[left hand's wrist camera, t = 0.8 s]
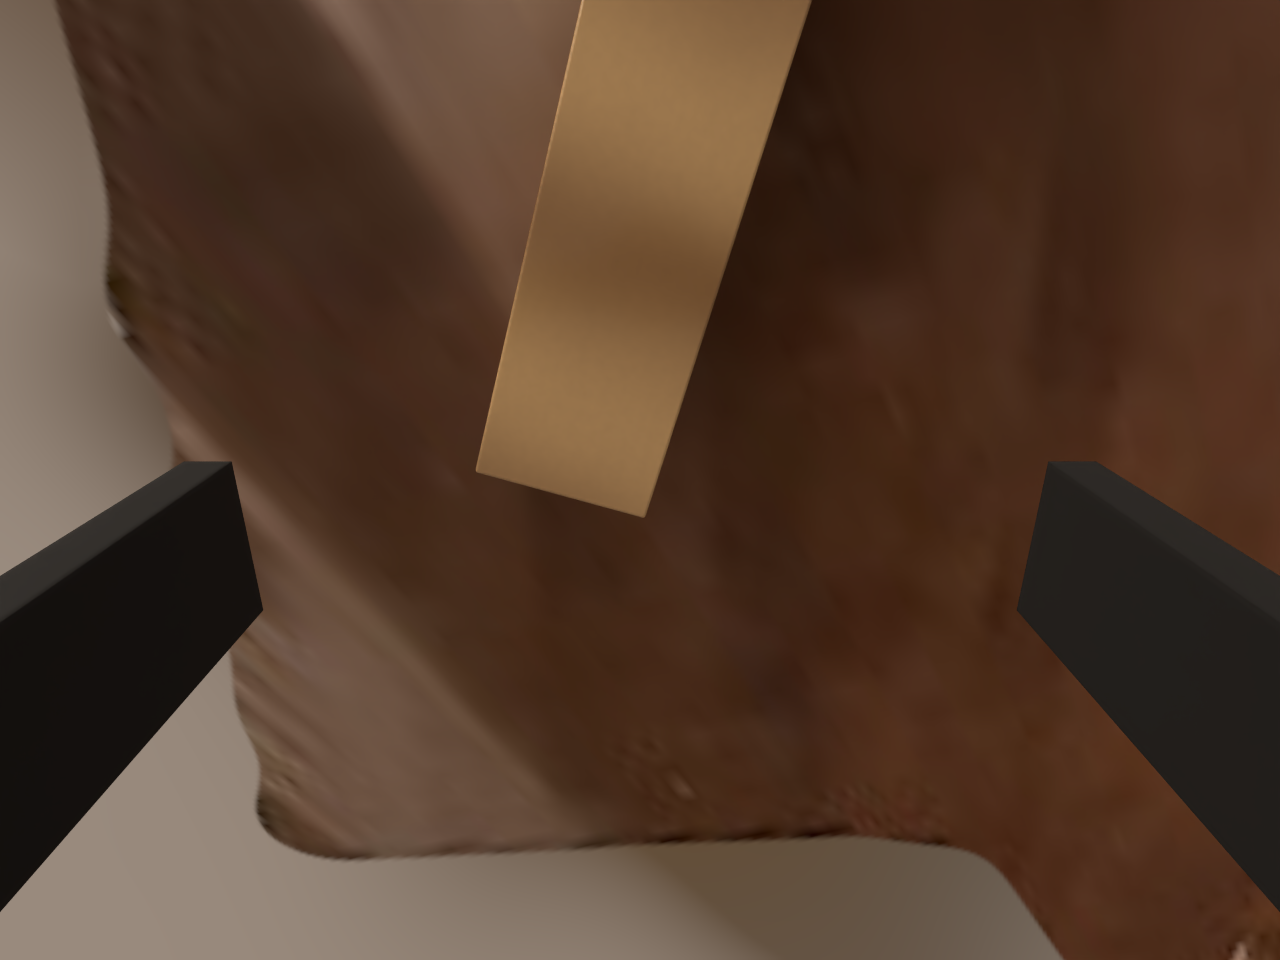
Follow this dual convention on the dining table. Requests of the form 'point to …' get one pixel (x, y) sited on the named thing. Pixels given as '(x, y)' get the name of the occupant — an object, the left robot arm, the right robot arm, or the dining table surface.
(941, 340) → the dining table surface
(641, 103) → the post
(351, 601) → the dining table surface
